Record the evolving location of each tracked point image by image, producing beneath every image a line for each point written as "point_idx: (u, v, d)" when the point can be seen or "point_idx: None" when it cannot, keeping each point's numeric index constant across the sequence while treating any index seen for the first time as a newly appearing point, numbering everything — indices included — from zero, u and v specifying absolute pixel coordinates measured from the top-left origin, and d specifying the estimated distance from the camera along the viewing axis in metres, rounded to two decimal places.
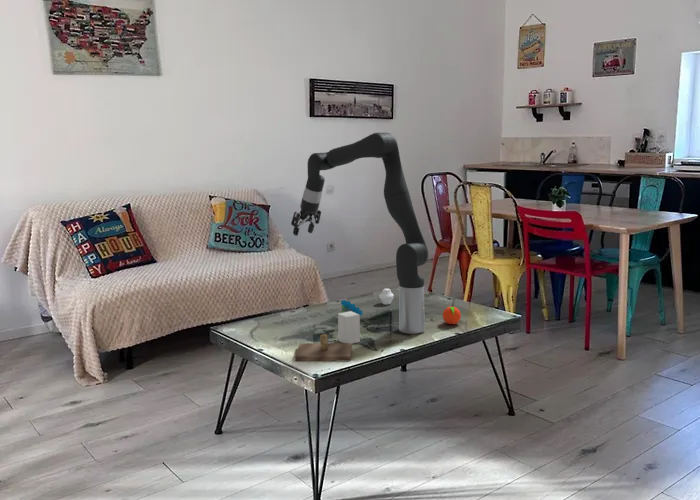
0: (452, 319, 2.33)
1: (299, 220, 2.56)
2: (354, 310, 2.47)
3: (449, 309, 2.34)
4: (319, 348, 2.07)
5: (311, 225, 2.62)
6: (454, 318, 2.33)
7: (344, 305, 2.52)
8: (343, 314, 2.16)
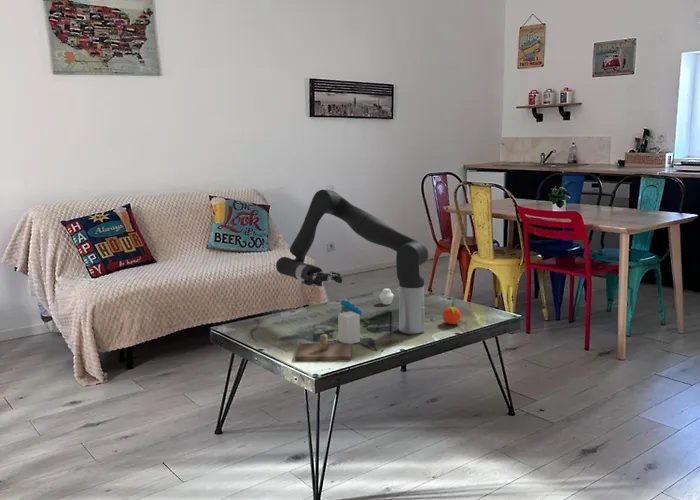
0: (452, 319, 2.33)
1: None
2: (353, 310, 2.47)
3: (449, 309, 2.34)
4: (319, 348, 2.07)
5: (335, 278, 2.29)
6: (454, 318, 2.33)
7: (344, 305, 2.52)
8: (343, 314, 2.16)
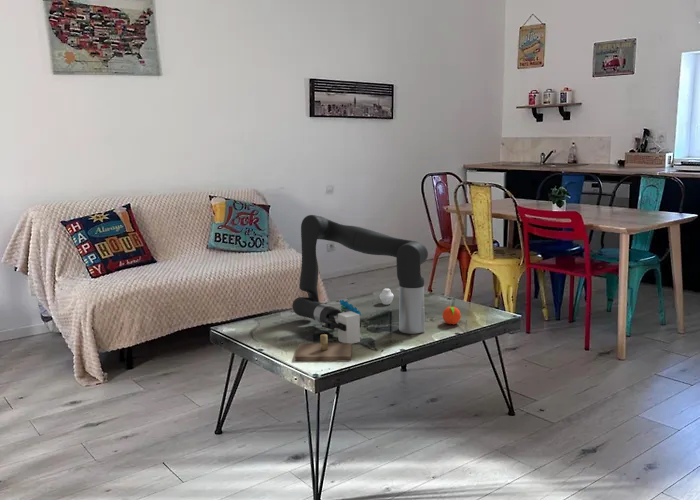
0: (452, 319, 2.33)
1: None
2: (352, 310, 2.47)
3: (449, 309, 2.34)
4: (319, 348, 2.07)
5: None
6: (454, 318, 2.33)
7: (343, 305, 2.52)
8: (343, 314, 2.16)
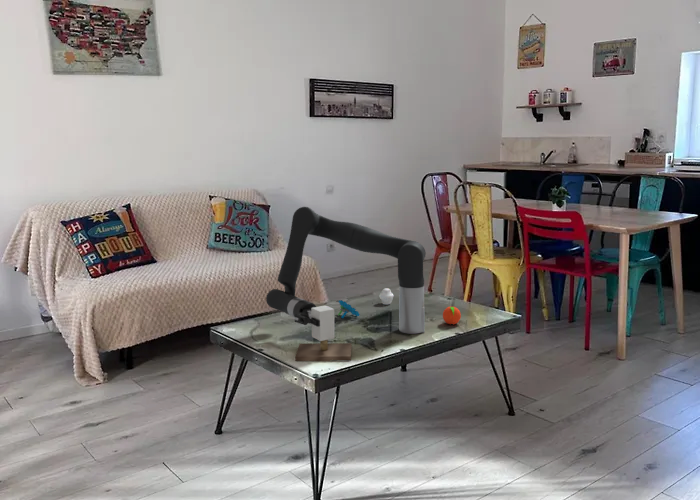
0: (452, 319, 2.33)
1: None
2: (351, 310, 2.47)
3: (449, 309, 2.34)
4: (319, 348, 2.07)
5: None
6: (454, 318, 2.33)
7: (343, 305, 2.52)
8: (317, 308, 2.03)
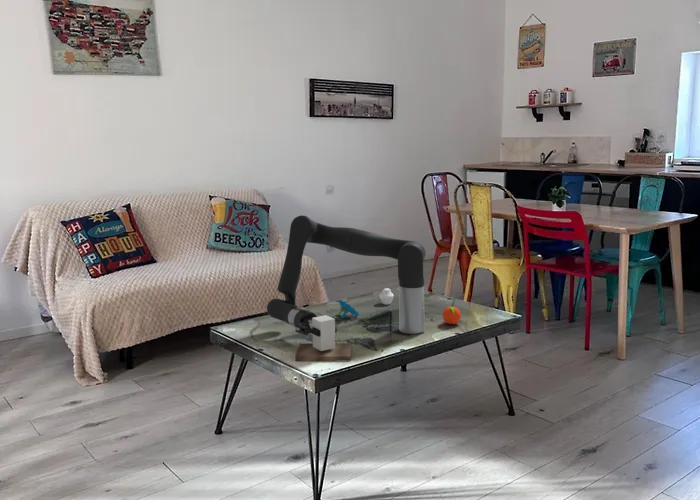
0: (452, 319, 2.33)
1: None
2: (351, 311, 2.47)
3: (449, 309, 2.34)
4: None
5: None
6: (454, 318, 2.33)
7: (343, 305, 2.52)
8: (317, 318, 2.03)
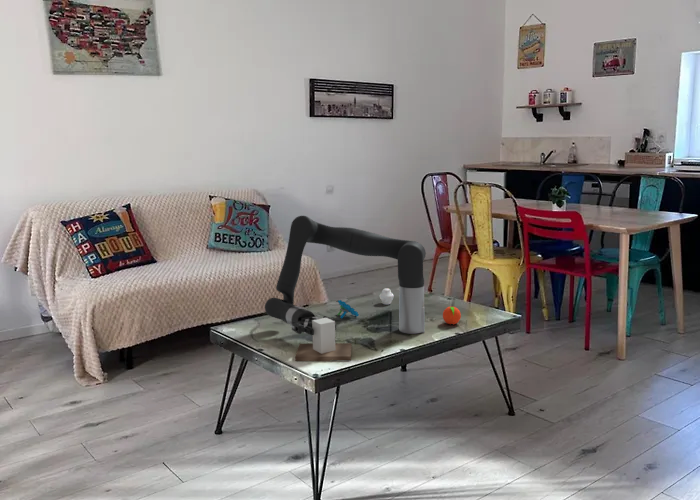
0: (452, 319, 2.33)
1: None
2: (350, 311, 2.47)
3: (449, 309, 2.34)
4: None
5: None
6: (454, 318, 2.33)
7: (343, 305, 2.52)
8: (317, 321, 2.03)
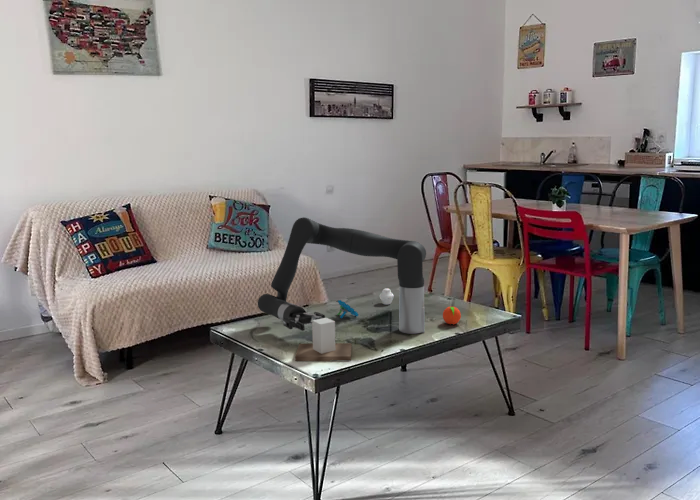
0: (452, 319, 2.33)
1: None
2: (350, 311, 2.47)
3: (449, 309, 2.34)
4: None
5: None
6: (454, 318, 2.33)
7: (343, 305, 2.52)
8: (317, 321, 2.03)
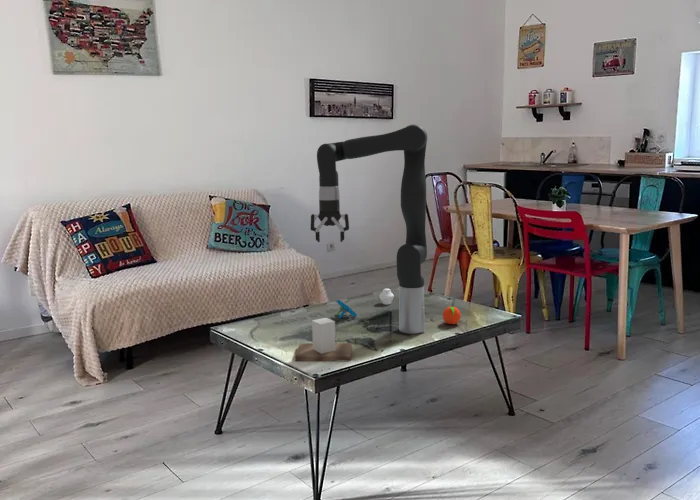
0: (452, 319, 2.33)
1: (319, 224, 2.28)
2: (349, 311, 2.46)
3: (449, 309, 2.34)
4: None
5: (340, 232, 2.28)
6: (454, 318, 2.33)
7: (342, 305, 2.52)
8: (317, 321, 2.03)
